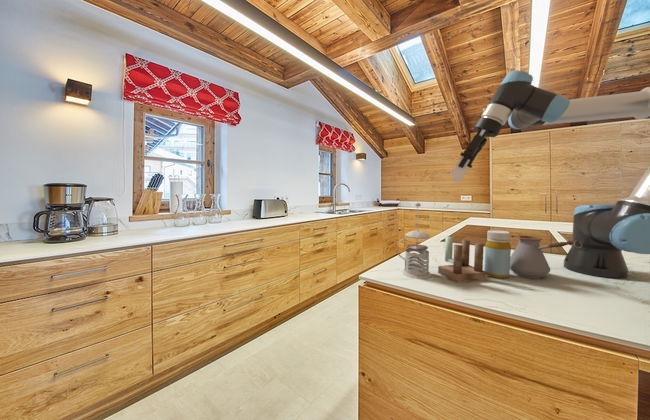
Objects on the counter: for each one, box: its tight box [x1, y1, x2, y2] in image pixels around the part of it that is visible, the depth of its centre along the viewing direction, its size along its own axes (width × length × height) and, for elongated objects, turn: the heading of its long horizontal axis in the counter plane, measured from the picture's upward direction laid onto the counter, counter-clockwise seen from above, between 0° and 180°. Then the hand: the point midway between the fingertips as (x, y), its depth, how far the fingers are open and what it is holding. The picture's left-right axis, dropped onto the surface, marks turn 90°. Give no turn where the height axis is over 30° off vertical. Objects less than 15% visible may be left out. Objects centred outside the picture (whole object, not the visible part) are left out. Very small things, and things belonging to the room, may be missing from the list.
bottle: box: [483, 229, 512, 279], centre depth 82 cm, size 7×7×15 cm
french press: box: [396, 202, 432, 280], centre depth 85 cm, size 10×12×25 cm
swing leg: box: [444, 236, 454, 265], centre depth 88 cm, size 7×2×9 cm, turn 11°
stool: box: [437, 239, 487, 283], centre depth 82 cm, size 11×9×12 cm
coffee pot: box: [510, 235, 582, 279], centre depth 78 cm, size 21×12×15 cm, turn 3°
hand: (455, 179), depth 86 cm, fingers open, 13 cm apart
